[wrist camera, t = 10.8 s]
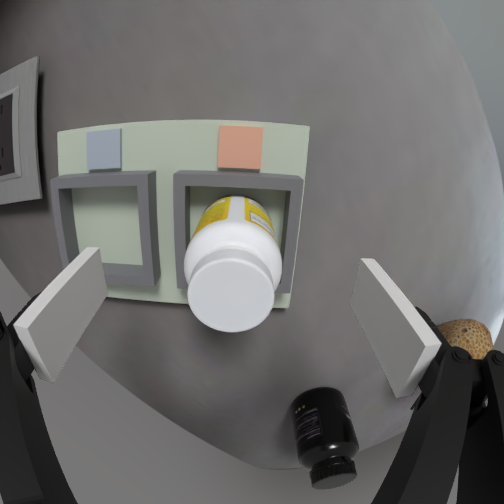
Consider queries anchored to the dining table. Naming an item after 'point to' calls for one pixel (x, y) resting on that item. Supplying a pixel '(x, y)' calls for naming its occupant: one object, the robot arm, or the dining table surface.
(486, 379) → the robot arm
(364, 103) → the dining table surface
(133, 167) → the tag board
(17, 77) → the electrical outlet
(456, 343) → the natural sponge
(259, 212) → the supplement bottle
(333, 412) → the supplement bottle
